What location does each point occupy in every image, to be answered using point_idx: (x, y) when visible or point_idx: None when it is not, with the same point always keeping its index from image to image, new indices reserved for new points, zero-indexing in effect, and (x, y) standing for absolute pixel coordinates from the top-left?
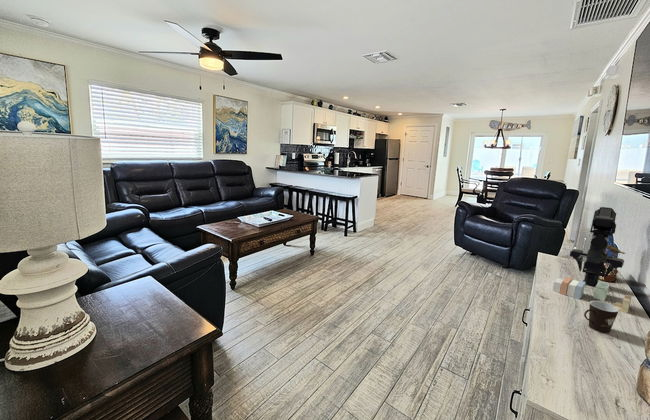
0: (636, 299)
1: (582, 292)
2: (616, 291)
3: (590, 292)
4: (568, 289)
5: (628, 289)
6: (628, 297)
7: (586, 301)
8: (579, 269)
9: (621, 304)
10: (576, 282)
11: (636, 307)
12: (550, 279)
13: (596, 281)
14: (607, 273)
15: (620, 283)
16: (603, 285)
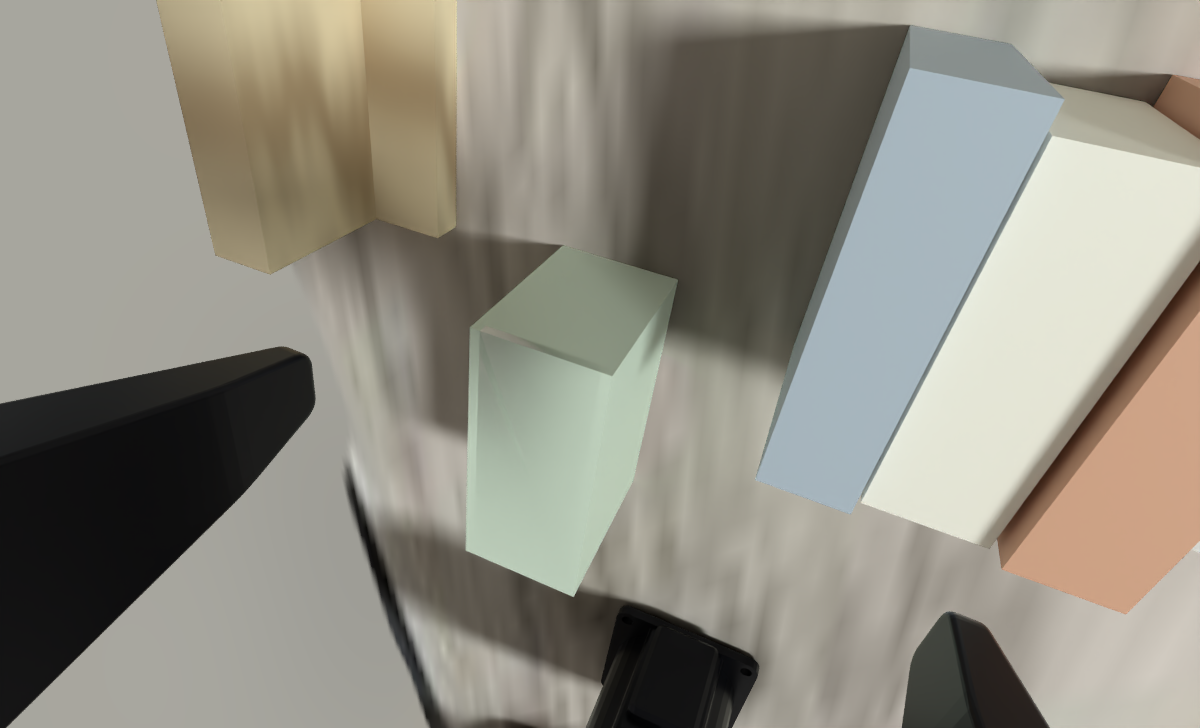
0: (351, 461)
1: (825, 267)
2: (483, 570)
3: (696, 447)
4: (1168, 131)
5: (423, 634)
6: (213, 147)
7: (794, 16)
8: (1016, 698)
9: (386, 174)
10: (944, 416)
11: (310, 254)
12: (1192, 693)
13: (615, 679)
14: (88, 406)
15: (476, 719)
16: (519, 484)
